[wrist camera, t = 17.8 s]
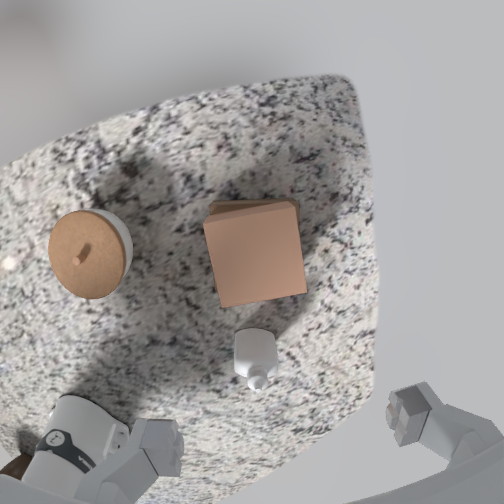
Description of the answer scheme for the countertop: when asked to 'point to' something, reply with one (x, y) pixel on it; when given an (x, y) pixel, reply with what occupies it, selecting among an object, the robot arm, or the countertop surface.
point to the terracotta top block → (256, 253)
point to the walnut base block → (233, 205)
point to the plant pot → (17, 466)
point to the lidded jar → (90, 252)
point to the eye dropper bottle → (255, 357)
